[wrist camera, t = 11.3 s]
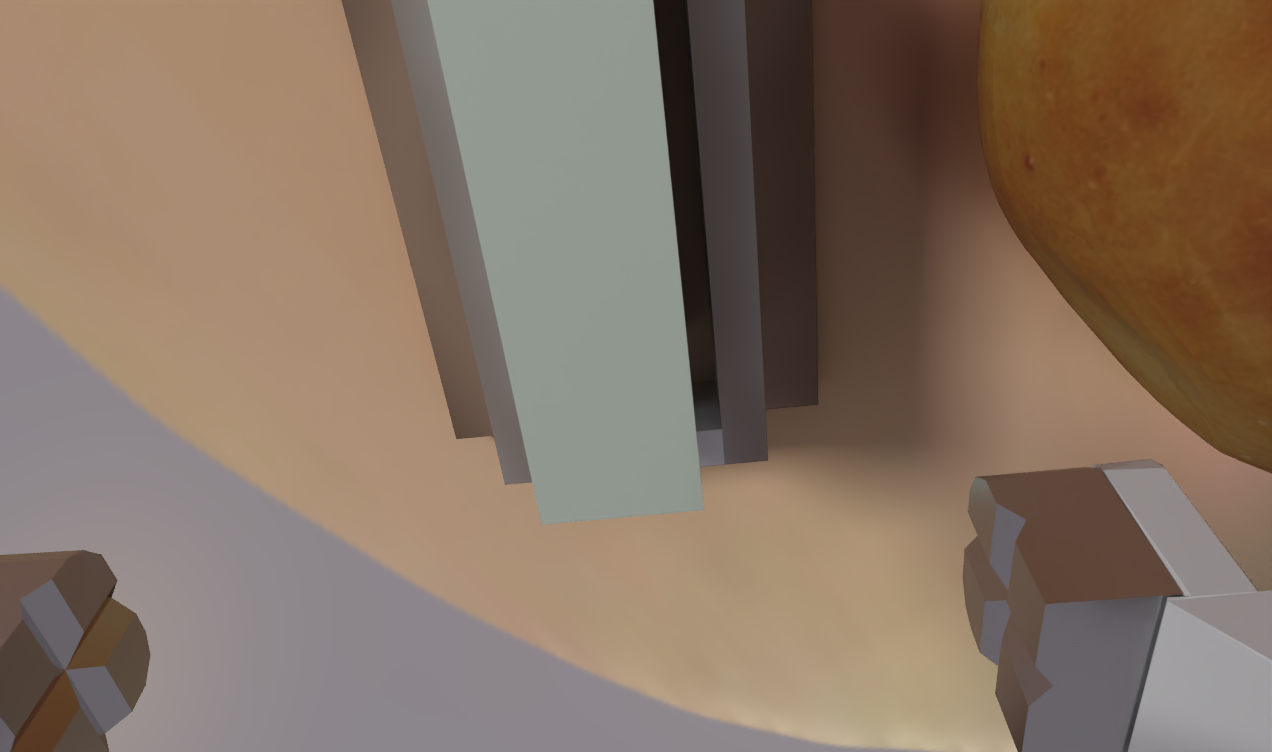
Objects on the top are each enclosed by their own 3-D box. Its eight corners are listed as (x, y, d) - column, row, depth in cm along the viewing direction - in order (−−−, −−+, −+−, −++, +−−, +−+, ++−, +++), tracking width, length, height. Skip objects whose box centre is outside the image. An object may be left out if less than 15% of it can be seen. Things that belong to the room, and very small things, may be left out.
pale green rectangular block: (627, -260, 20) (624, -284, 13) (686, 328, 27) (703, 509, 20) (461, -237, 20) (372, -250, 13) (564, 340, 27) (541, 524, 20)
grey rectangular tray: (796, -462, 19) (827, -509, 16) (813, 386, 29) (833, 454, 26) (257, -382, 19) (189, -412, 16) (461, 420, 30) (442, 490, 27)
